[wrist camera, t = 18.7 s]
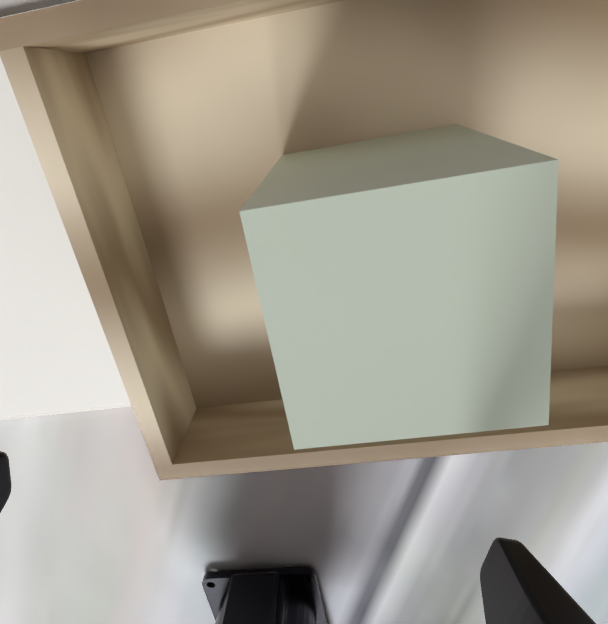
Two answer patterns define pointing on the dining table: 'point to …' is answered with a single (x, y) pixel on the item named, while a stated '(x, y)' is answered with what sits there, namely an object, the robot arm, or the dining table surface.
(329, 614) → the dining table surface
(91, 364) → the track board
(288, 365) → the sage block
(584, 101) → the beige open tray
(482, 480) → the dining table surface
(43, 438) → the dining table surface
